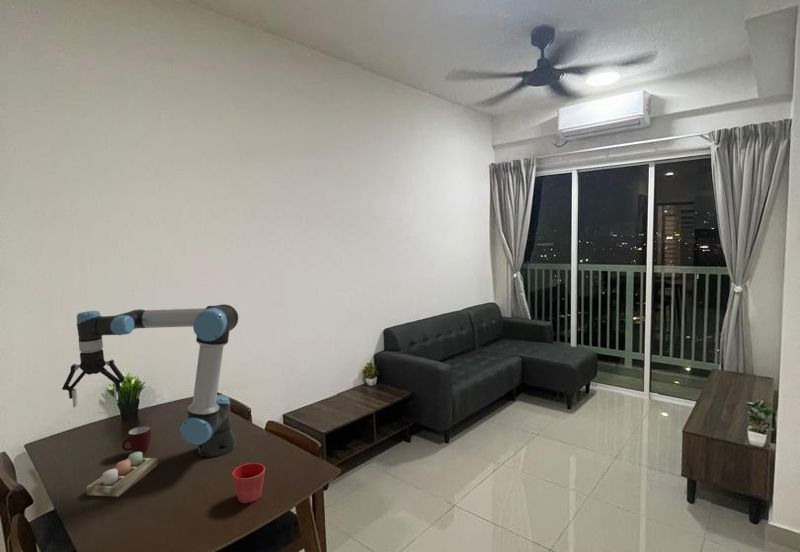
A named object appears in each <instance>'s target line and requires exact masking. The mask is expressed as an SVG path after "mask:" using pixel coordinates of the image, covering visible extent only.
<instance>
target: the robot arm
mask: <svg viewBox="0 0 800 552" xmlns="http://www.w3.org/2000/svg"><path fill="white" fill-rule="evenodd" d="M238 322H239V313H238V311H237V310H236V309H235V307H233V306H232V305H230V304H223V303H222V304H217V305H207V306H206V307H204V308H175V309H174V308H172V309H150V310H149V309H147V310H145V309H143V308H140V309H133V310H130V311H127V312H123V313H120V314H116V315H106V316H104V315H103V316H102V315H101V312H100V311H99V310H88V311H82V312H79V313H77V314H76V328H77V336H78V348H79V349H78V350H79V352H80V353H79V359H80V361H79V362H80V364H76V363H73V364H72V365H71V366H70V372H69V374H68V376H67V377H66V380H65V382H64V384H63V386H62V389H61V390H63V391H68V398H69V399H70V400H71V399H72V407H73V408H76V407H77V406H78V405H79V404H78V393H77V392H78V391H77V388H75V387H76V386H77V385H78V384H79V382H80V381H81V380H82V379H83V377H84V376H86V375H89V376H90V375H94V374H95V375H96V374H99V373H100V374H102V375H104V376H105V377H106V378H108V379H109V380H110V381H111V382H113V385H112V388H113V396H114V401H115V402H117V401H118V400H119V392H120V391H121V383H123V382H124V381H125V380H126V378H125V376H124V375H123V373H121V371H120V369H119V368H118V367H117V365H115V364H116V363H115V360H114V359H110V360H108V361H106V360H105V355H104V349H103V348H104V346H103V345H104V343H103V336H123V335H130V334H131V333H132V331H134V330H136V329H153V328H154V329H155V328H159V329H160V328H185V327H186V328H188V327H189V328H191V327H192V328H193V333H194V334H195V335H196V339H195V342H196V343H197V344H198V345H199V350H198V360H197V365H196V366H197V367H196V372H195V373H196V374H195V380H194V388H193V389H194V390H193V396H192V403H190V404H189V405H188V406H187V410H186V419H185V420H184V421H182V423H181V425H180V428H179V430H180V435H181V437H182V439H184V440H185V442H186V443H188V444H191V445H198V447H197V450H198V455H200V456H202V457H206V458H207V457H219V456H222V455H223V456H224V455H226V454H228V453H230V452H231V451H233V450H234V449H235V448H236V446H237V440H236V438H235V434H234V433H233V430H232V421H231V402H230V397H229V396H228V395H224V394H218V391H219V383H220V376H221V375H220V374H221V367H222V359H223V351H224V346H226V345H227V344H228V343H229V337H230V331H232V330H234V329H235V328H236V326H237V324H238ZM106 365H107V367H109V368H110V369H111V370H112V372H113V373H114V374H113V373H111V372H110V371H109V370H108V369H106V368H105V367H106ZM79 369H80V370H81V371H82V372H81V373H80V374H79V375H78V377H77V378H76V379H75V380H74V381H73V383H72V384H71V382H72V379H73V377H74V375H75V373H76V371H78V370H79ZM70 384H71V385H70Z"/></svg>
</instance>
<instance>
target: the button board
mask: <svg viewBox="0 0 800 552" xmlns="http://www.w3.org/2000/svg"><path fill="white" fill-rule="evenodd" d="M125 460H129V457H128V458H126V459H125ZM157 466H158V458H153V457H152V458H151V457H143V462H142V463H141V464H139V465H136V466H131V471H130V472H129V473H127V474H124V475H118V481H117V482H115V483H113V484H111V485H104V484H103V476H101V477H99V478H98V479H96V480H94V481H93V482H91V483H90V484H89V485H87V486H86V495H87V496H99V497H116V498H118V497H120V496H121V495H122V494H124V493H125V492H126V491H127V490H129V489H130V488H132V486H134V485H135V484H136V483H138V482H139V481H140V480H141V479H143V478H144V477H145V476H146V475H148V474H149V473H150V472H151V471H153V470H154V469H155V468H157ZM112 469H116V466H115V467H113V468H112Z"/></svg>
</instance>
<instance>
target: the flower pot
mask: <svg viewBox="0 0 800 552" xmlns="http://www.w3.org/2000/svg"><path fill="white" fill-rule="evenodd" d="M265 472H266V467H265V465H263V464H262V463H258V462H250V463H245V464H242V465H239V466H238V467H236V468H235V469H233V471H232V473H231V474H232V475H231V476H232V478H233V479H232V480H233V484H234V489H235V492H236V497H237V500H238V501H239V502H240V503H243V504H249V503H248V502H250V503H253V501H254V502H256V501H257V500H259V499H260V498H261V497H262V492H263V486H264V482H265V481H264V480H265ZM259 497H260V498H259ZM258 498H259V499H258ZM255 500H256V501H255Z"/></svg>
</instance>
